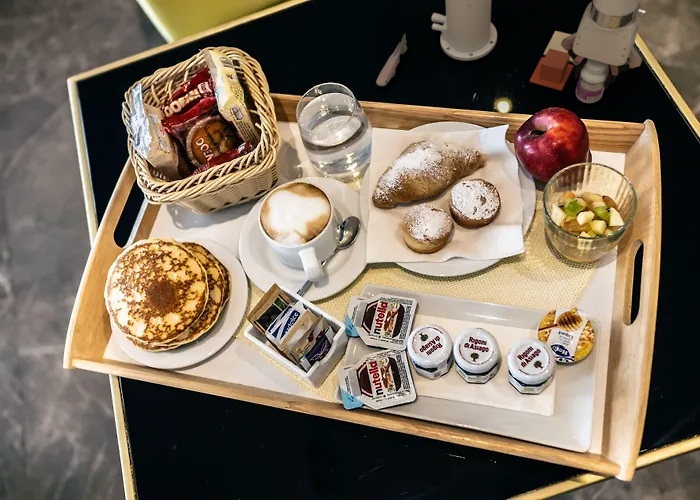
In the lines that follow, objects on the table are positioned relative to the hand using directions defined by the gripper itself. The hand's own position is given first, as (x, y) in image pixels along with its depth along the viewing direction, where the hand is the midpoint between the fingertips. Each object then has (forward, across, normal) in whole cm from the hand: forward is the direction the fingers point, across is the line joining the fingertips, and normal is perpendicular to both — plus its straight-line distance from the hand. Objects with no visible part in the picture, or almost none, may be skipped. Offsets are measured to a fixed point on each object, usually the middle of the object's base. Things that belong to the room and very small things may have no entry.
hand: (593, 78), depth 121 cm
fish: (+6, +41, +8) cm, 43 cm away
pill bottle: (+5, 0, 0) cm, 5 cm away
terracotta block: (+5, +8, -3) cm, 10 cm away
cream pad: (+5, +9, -11) cm, 15 cm away
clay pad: (+5, +9, -3) cm, 11 cm away
